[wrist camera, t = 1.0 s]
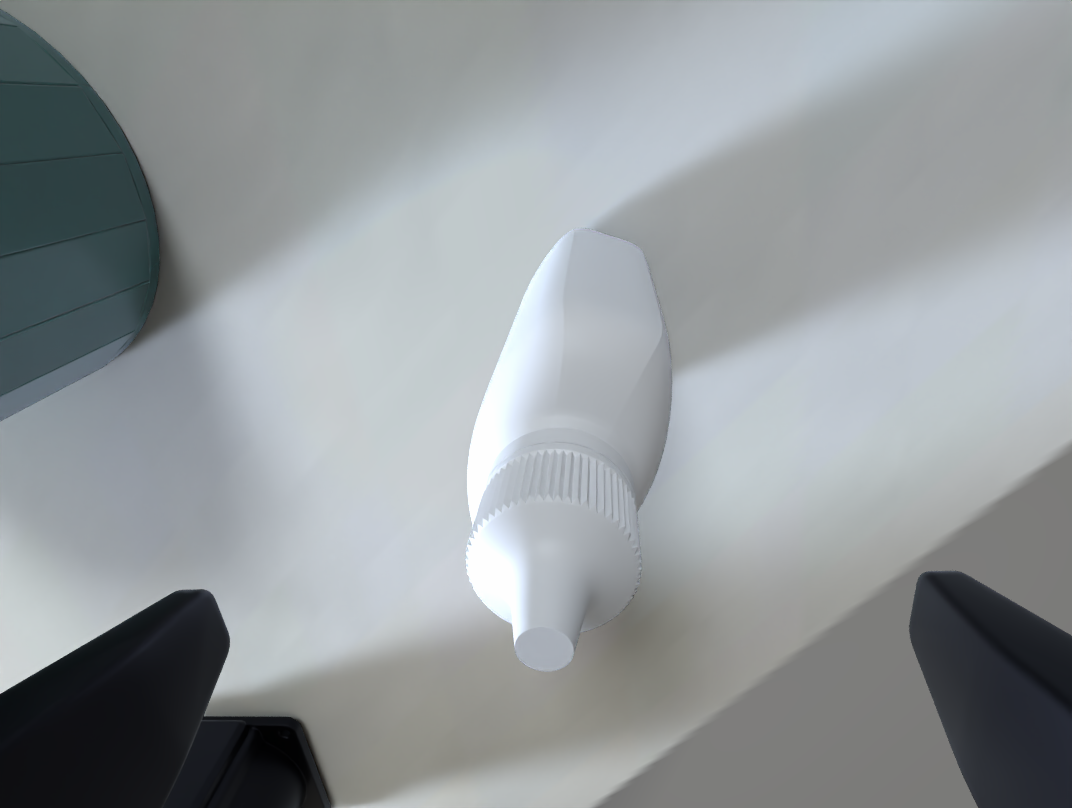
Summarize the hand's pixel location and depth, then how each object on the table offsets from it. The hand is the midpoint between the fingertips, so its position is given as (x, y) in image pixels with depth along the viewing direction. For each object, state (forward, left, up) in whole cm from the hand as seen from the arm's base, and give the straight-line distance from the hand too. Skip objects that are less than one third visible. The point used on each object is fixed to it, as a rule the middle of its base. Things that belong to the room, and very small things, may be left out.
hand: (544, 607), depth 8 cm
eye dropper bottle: (0, 0, -11) cm, 11 cm away
